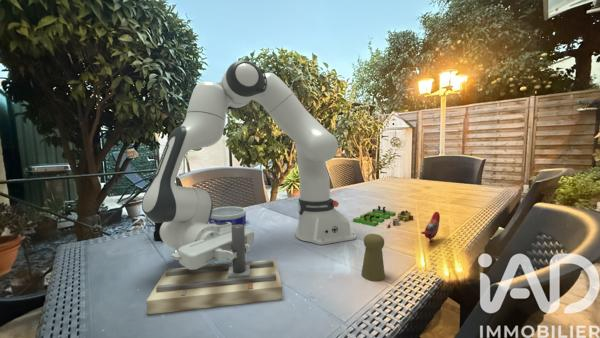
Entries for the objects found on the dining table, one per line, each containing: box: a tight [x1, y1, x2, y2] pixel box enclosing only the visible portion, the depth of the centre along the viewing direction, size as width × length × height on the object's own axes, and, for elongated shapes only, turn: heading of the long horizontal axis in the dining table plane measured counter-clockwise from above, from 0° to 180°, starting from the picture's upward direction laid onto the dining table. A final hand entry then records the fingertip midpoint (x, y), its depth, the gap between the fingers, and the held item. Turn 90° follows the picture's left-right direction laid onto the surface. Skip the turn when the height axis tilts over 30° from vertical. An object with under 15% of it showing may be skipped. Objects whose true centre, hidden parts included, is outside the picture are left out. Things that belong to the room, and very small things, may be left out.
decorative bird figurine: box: [420, 211, 441, 244], centre depth 93 cm, size 3×18×10 cm, turn 137°
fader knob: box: [228, 224, 250, 279], centre depth 65 cm, size 5×5×12 cm
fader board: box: [145, 259, 283, 315], centre depth 65 cm, size 28×14×4 cm, turn 101°
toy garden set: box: [352, 205, 414, 229], centre depth 121 cm, size 23×19×5 cm
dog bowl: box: [209, 206, 247, 226], centre depth 115 cm, size 15×15×6 cm
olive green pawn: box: [360, 233, 386, 282], centre depth 71 cm, size 6×6×11 cm
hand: (241, 252), depth 64 cm, fingers closed on fader knob, 3 cm apart
